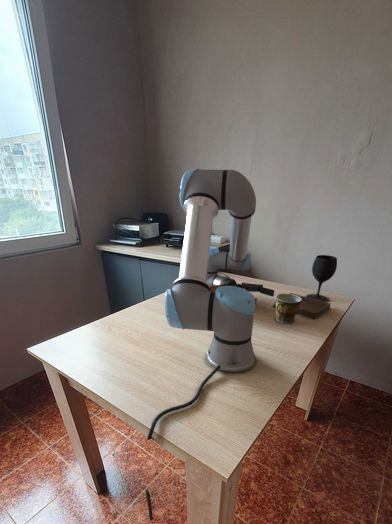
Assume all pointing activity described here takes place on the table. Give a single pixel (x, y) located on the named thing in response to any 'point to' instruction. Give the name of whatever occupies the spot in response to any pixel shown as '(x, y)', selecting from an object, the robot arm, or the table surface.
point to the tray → (311, 307)
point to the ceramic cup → (287, 307)
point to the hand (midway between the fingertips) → (265, 297)
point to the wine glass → (323, 273)
